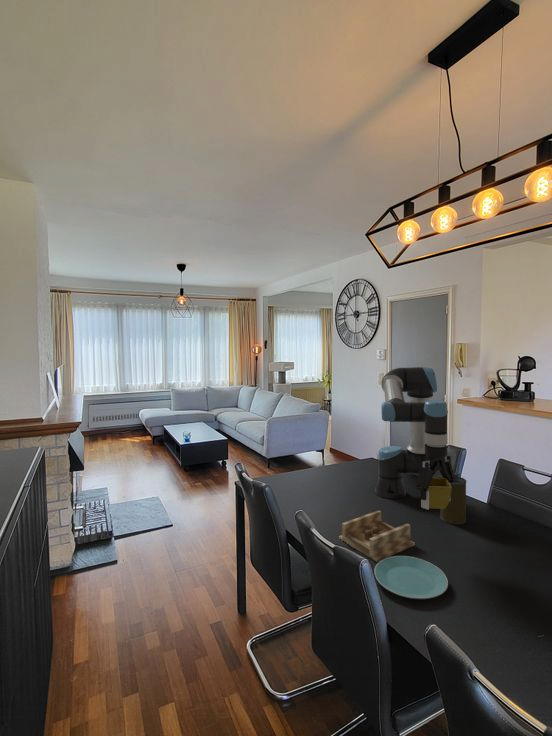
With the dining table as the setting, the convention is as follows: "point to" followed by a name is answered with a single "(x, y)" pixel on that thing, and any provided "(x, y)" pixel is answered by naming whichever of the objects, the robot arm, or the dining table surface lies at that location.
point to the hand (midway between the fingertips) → (436, 504)
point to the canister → (456, 502)
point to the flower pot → (439, 493)
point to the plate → (411, 577)
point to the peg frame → (376, 536)
